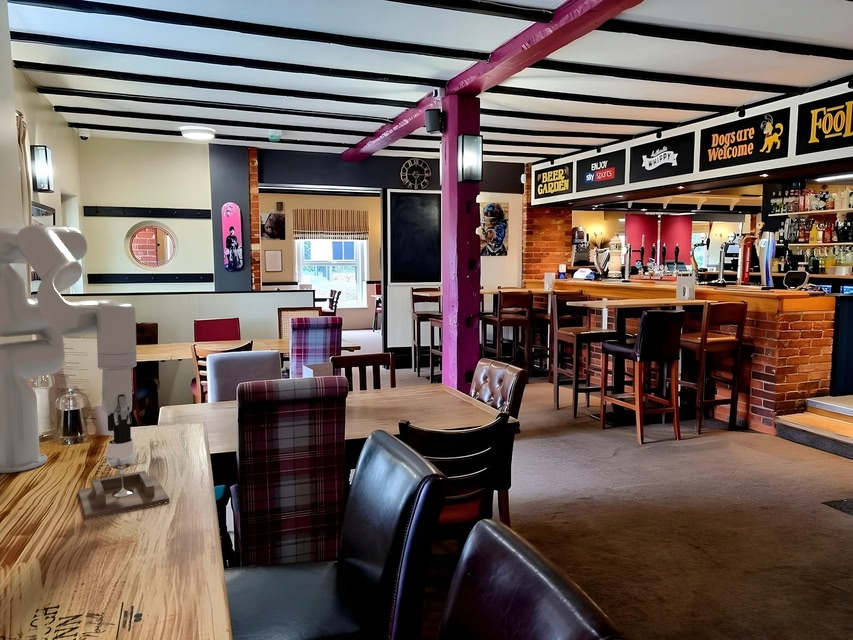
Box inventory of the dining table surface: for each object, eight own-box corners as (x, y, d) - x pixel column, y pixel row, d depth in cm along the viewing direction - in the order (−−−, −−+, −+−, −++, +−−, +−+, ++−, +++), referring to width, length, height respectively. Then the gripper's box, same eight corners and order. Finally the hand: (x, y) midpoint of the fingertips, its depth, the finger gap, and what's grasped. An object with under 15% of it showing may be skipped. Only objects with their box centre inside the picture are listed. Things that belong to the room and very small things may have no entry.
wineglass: (140, 494, 132) (138, 441, 131) (111, 500, 129) (109, 446, 128) (133, 486, 137) (131, 435, 136) (105, 492, 133) (103, 440, 132)
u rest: (78, 493, 135) (77, 478, 134) (155, 479, 144) (154, 465, 144) (85, 519, 122) (85, 503, 121) (169, 502, 131) (168, 486, 130)
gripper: (93, 354, 135) (95, 428, 137) (102, 368, 120) (104, 450, 122) (129, 352, 139) (131, 423, 141) (143, 365, 125) (144, 444, 127)
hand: (119, 435), depth 132 cm, fingers open, 9 cm apart
